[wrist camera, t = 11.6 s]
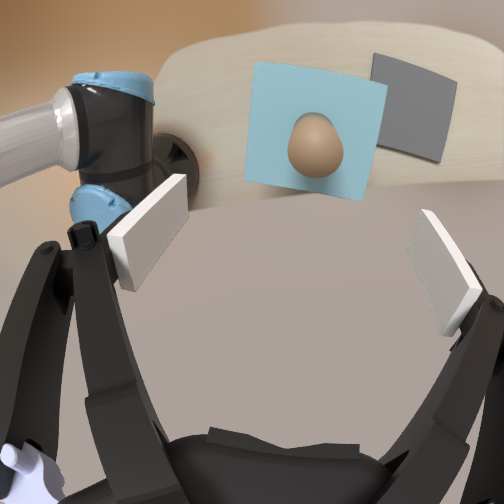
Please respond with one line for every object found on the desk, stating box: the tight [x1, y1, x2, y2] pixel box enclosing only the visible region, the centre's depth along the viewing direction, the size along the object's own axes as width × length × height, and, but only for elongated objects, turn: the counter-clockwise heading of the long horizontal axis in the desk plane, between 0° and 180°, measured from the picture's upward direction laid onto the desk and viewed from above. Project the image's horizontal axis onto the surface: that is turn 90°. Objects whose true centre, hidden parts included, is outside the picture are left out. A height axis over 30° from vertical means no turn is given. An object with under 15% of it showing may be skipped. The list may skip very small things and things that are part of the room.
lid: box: [244, 61, 388, 202], centre depth 25 cm, size 14×14×10 cm
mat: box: [370, 53, 457, 162], centre depth 39 cm, size 16×16×1 cm
